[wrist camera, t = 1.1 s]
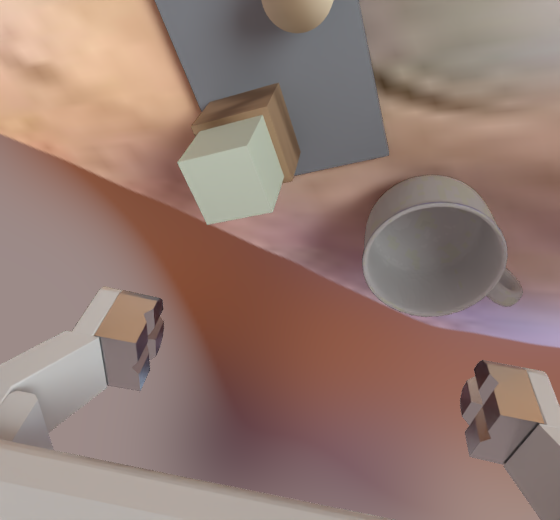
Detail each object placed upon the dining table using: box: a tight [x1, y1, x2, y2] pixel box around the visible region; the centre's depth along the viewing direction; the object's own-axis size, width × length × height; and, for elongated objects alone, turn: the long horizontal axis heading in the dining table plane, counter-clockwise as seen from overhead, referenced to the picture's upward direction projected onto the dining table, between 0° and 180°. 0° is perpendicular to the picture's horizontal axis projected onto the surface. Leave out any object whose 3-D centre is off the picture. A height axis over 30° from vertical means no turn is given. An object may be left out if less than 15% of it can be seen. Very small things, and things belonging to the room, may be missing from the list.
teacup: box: [362, 175, 523, 317], centre depth 40 cm, size 14×11×8 cm
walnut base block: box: [191, 83, 301, 183], centre depth 37 cm, size 6×6×5 cm
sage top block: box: [177, 115, 284, 225], centre depth 34 cm, size 5×5×5 cm
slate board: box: [155, 0, 389, 176], centre depth 37 cm, size 14×18×1 cm
